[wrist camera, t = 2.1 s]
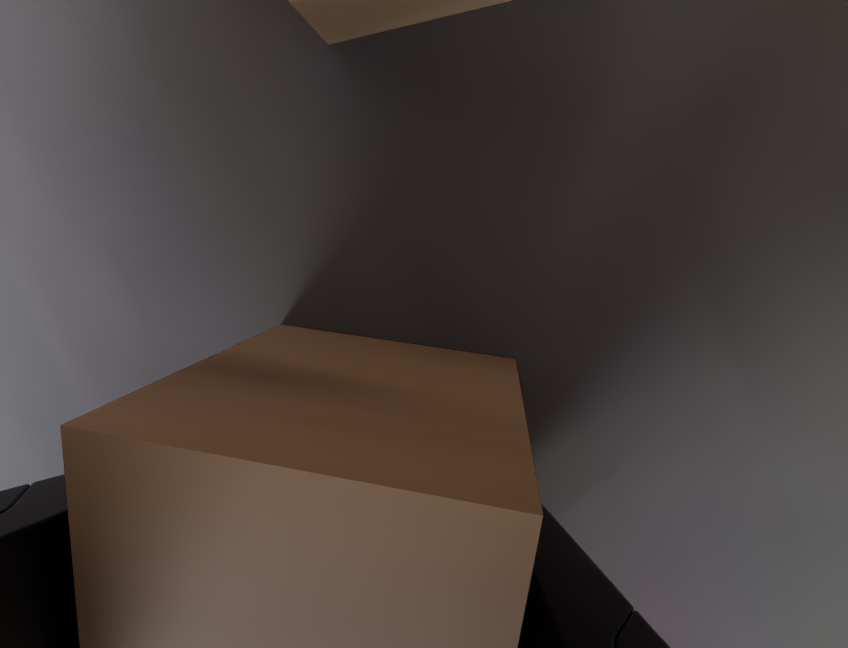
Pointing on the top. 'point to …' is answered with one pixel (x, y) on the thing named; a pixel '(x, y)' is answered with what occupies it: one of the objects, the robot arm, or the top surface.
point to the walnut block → (307, 500)
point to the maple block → (376, 14)
